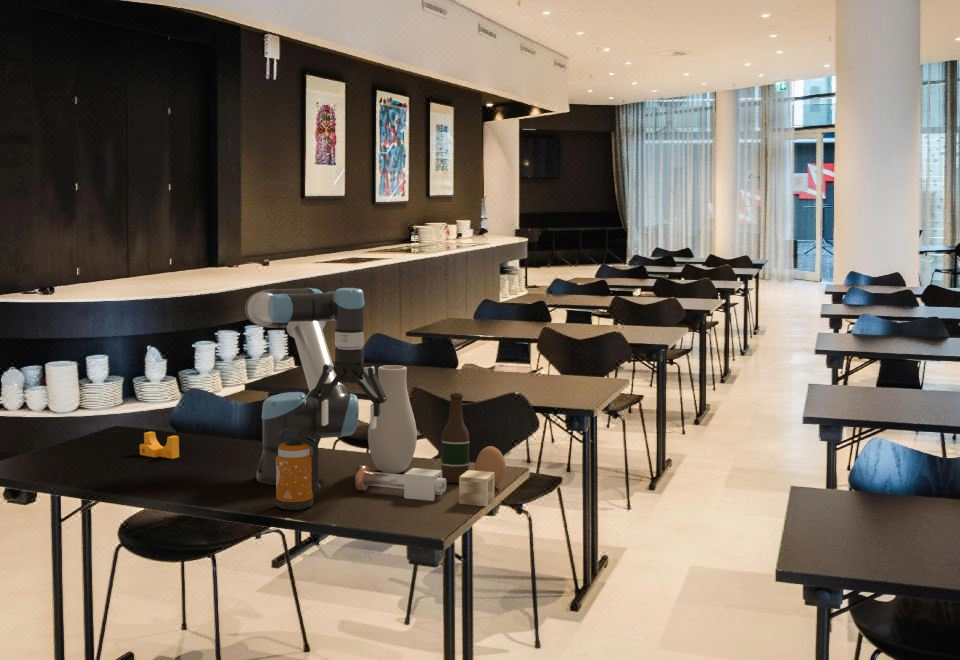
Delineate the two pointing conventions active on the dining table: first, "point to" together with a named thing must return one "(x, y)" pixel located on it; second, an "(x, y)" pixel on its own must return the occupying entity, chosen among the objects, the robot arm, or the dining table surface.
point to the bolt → (387, 480)
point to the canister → (297, 469)
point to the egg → (491, 463)
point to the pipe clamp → (159, 446)
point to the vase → (393, 423)
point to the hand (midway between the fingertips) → (349, 426)
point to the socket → (476, 488)
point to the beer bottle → (455, 442)
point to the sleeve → (421, 484)
